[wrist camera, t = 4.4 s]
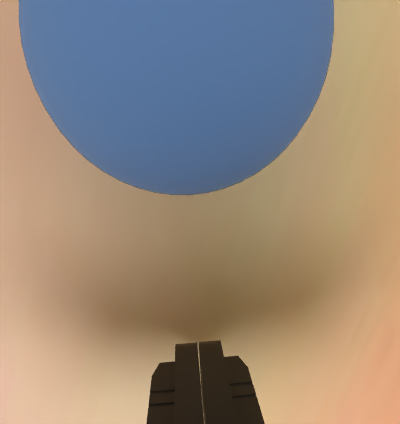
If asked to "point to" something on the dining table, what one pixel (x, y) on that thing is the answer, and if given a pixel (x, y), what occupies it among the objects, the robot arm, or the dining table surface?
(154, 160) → the ball
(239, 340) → the dining table surface
